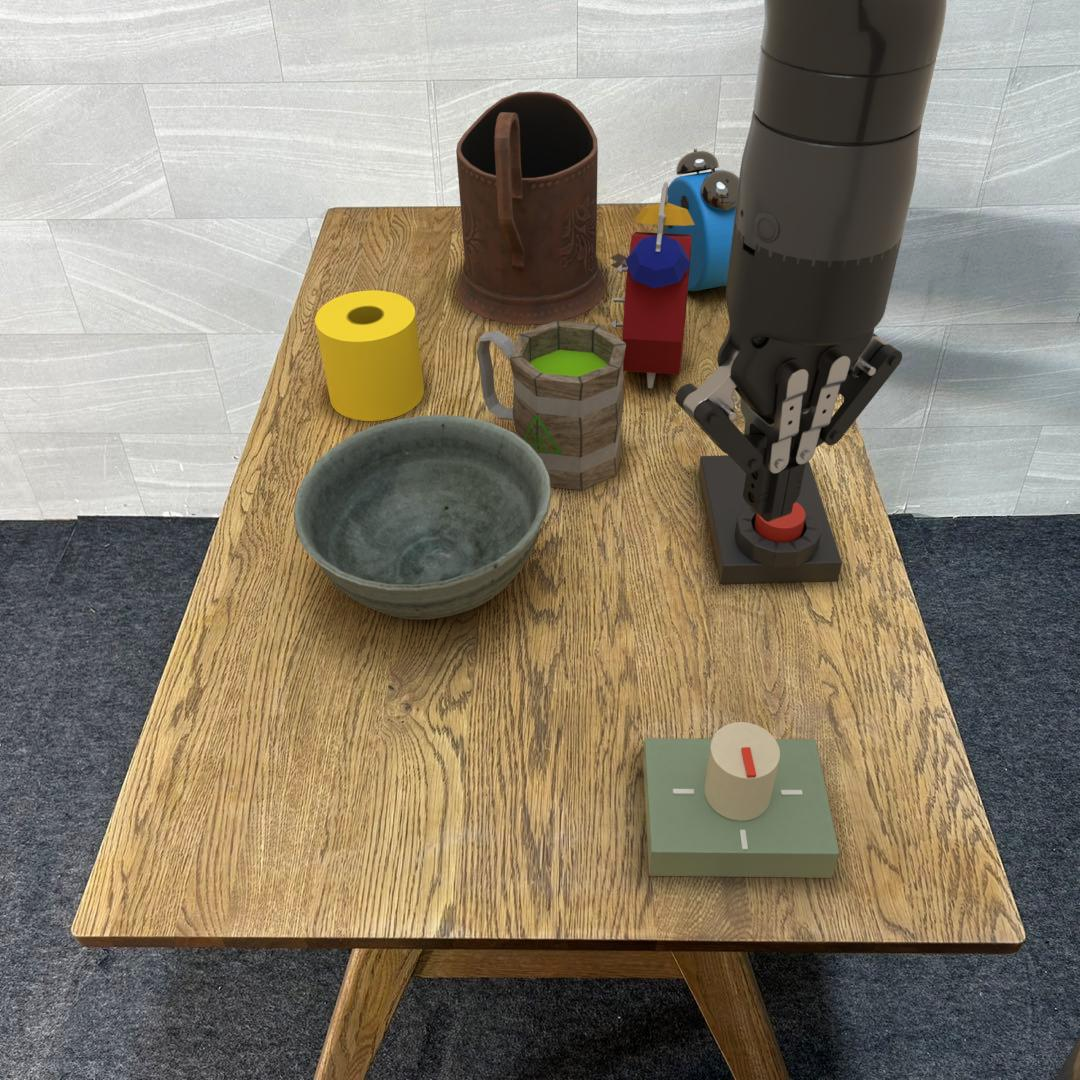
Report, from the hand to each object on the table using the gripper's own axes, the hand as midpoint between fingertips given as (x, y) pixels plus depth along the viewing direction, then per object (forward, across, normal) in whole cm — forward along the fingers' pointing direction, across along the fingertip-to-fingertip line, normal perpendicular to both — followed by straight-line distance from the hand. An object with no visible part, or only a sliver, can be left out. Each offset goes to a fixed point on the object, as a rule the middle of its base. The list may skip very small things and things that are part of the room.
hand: (768, 509), depth 59 cm
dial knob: (+21, +2, +4) cm, 22 cm away
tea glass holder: (+24, -18, -68) cm, 74 cm away
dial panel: (+24, +2, +4) cm, 25 cm away
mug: (+24, -6, -40) cm, 47 cm away
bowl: (+24, +11, -28) cm, 39 cm away
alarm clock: (+23, -37, -60) cm, 75 cm away
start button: (+20, -16, -16) cm, 31 cm away
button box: (+24, -18, -20) cm, 36 cm away
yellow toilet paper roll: (+24, +6, -57) cm, 62 cm away
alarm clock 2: (+24, -22, -49) cm, 58 cm away
